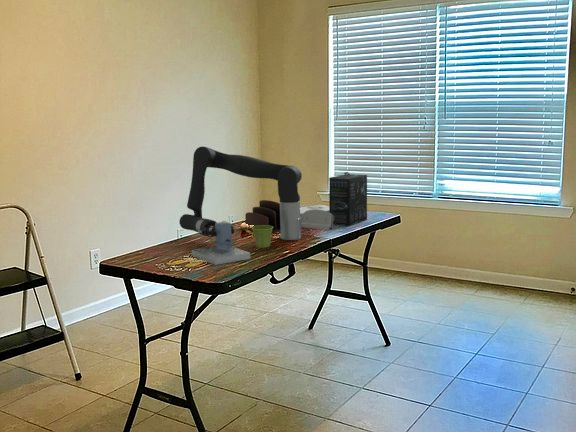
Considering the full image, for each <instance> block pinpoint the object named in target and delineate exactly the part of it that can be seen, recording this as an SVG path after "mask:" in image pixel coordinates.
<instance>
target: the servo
mask: <svg viewBox="0 0 576 432" xmlns="http://www.w3.org/2000/svg"><path fill="white" fill-rule="evenodd" d="M231 226H232V223H231V222H228V220H222V221H221V222H217V223H215V231H216V232H217V236H215V240H214V243H215V246H219V245H229V246H232V247H233V244H234V241H233V240H232V239H233V238H232V234H231Z"/></svg>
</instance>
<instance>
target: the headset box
mask: <svg viewBox="0 0 576 432" xmlns="http://www.w3.org/2000/svg"><path fill="white" fill-rule="evenodd" d="M328 180H329V181H328V183H329V184H328V185H329V188H328V190H329V194H328V195H329V199H328V200H329V206H328V207H329V213H331V214H333V225H336V226H337V225H338V226H347V227H349V226H351V225H354V224H357V223H360V222H363V221H366V220H368V175H367V174H351V173H349V172H348V171H346V172H343V174H341V175H335V176H330V177H329V178H328Z"/></svg>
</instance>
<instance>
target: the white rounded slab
mask: <svg viewBox="0 0 576 432" xmlns="http://www.w3.org/2000/svg"><path fill="white" fill-rule="evenodd" d="M308 210H324V211H327V212H329V206H328V205H324V204H322V205H321V204H320V205H308V206H300V217H301V223H302V219H303V216H304V212H305V211H308Z"/></svg>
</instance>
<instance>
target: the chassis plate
mask: <svg viewBox="0 0 576 432" xmlns="http://www.w3.org/2000/svg"><path fill="white" fill-rule="evenodd" d="M191 256H192V257H194V258H197V259H200V260H201V261H204V262H207V263H209V264H211V265H214V266H218V265H222V264H223V265H224V264H229V263H234V262H235V263H236V262H239V261H240V262H242V261H245V260H246V261H247V260H251V252H249V251H246V250H242V249H241V248H238V247H234V246H233V245H232V246H229V245H219V246H216V245H214V246H207V247H201V248H195V249H191Z"/></svg>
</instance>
